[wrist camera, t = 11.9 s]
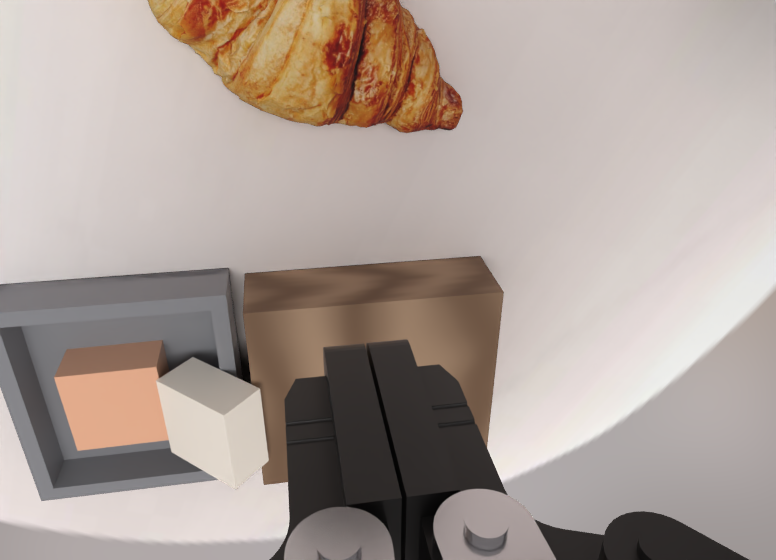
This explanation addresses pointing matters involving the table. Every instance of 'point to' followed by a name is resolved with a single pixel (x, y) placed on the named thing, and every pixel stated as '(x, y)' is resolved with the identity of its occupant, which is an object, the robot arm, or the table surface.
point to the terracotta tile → (113, 394)
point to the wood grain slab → (370, 328)
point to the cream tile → (214, 421)
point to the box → (100, 328)
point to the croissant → (320, 59)
